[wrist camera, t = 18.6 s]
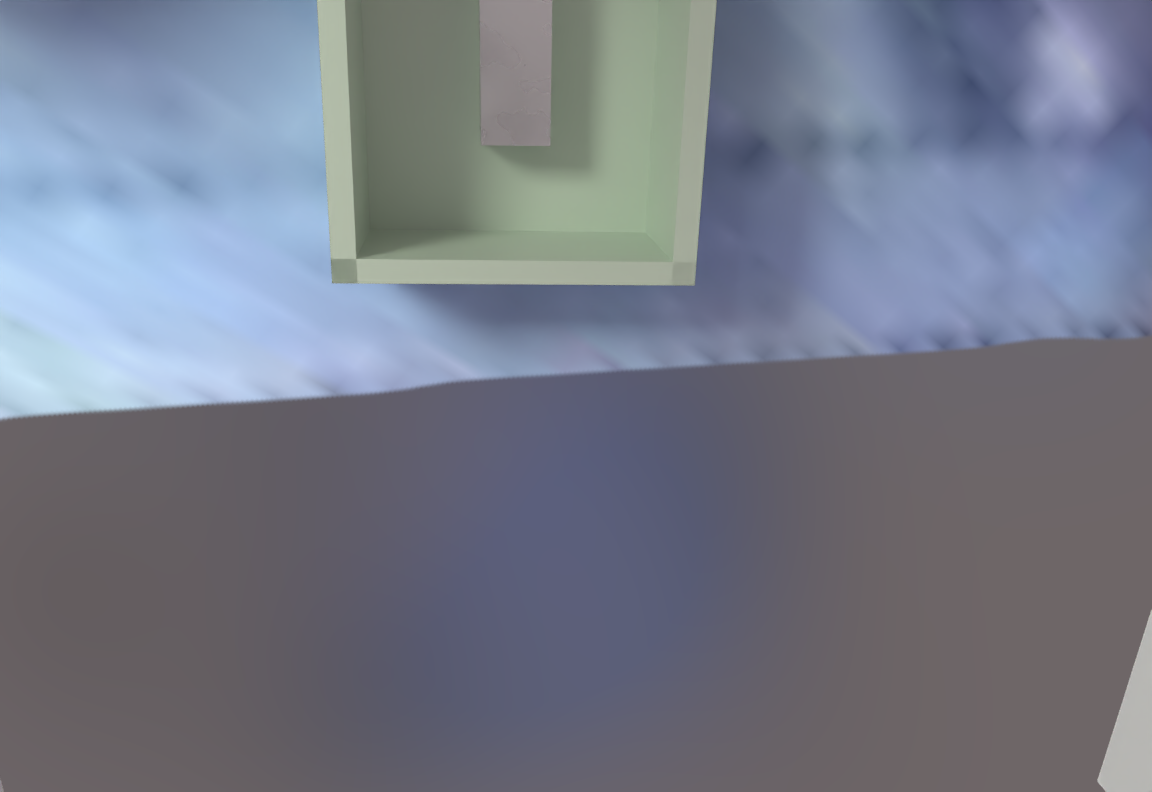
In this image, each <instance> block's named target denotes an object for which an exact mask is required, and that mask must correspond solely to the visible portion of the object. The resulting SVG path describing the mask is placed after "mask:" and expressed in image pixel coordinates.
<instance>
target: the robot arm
mask: <svg viewBox="0 0 1152 792" xmlns="http://www.w3.org/2000/svg"><path fill="white" fill-rule="evenodd" d="M1097 781H1098V783H1099V784H1100V785H1101V786H1102V788H1103V789H1104V790H1105V791H1106V792H1152V610H1151V613H1150V616H1149V619H1148V623H1147V626H1146V629H1145V632H1144V635H1143V638H1142V641H1141V645H1140V648H1139V651H1138V654H1137V657H1136V660H1135V664H1134V667H1133V670H1132V673H1131V676H1130V679H1129V683H1128V686H1127V689H1126V692H1125V695H1124V698H1123V702H1122V705H1121V708H1120V711H1119V714H1118V717H1117V721H1116V724H1115V727H1114V730H1113V733H1112V736H1111V739H1110V743H1109V746H1108V749H1107V752H1106V755H1105V759H1104V761H1103V765H1102V768H1101V771H1100V774H1099V777H1098V780H1097ZM0 792H4V791H3V787H2V783H1V779H0Z"/></svg>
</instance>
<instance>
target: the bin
mask: <svg viewBox="0 0 1152 792" xmlns="http://www.w3.org/2000/svg"><path fill="white" fill-rule="evenodd" d="M716 3H717V0H552V56H551V131H550V146H503V145H481V142H480V91H479V0H317V11H318V29H319V48H320V66H321V85H322V103H323V122H324V140H325V159H326V178H327V196H328V215H329V233H330V252H331V270H332V283H375V284H535V285H694V286H695V274H696V261H697V248H698V236H699V223H700V210H701V197H702V184H703V171H704V158H705V145H706V132H707V119H708V107H709V94H710V81H711V68H712V55H713V42H714V29H715V16H716Z"/></svg>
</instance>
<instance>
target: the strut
mask: <svg viewBox="0 0 1152 792" xmlns="http://www.w3.org/2000/svg"><path fill="white" fill-rule="evenodd" d="M551 56H552V0H479V91H480V142H481V145H503V146H550V131H551Z"/></svg>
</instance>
